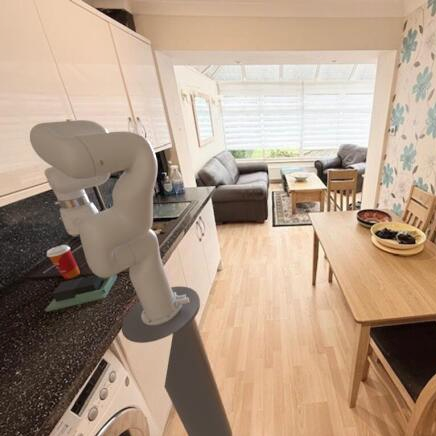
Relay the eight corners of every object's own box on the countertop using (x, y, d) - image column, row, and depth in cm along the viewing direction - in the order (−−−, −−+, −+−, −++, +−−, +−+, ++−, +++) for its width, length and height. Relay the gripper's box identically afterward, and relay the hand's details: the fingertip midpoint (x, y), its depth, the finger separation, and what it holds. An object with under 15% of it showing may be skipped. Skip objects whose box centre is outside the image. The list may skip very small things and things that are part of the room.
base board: (117, 276, 104) (112, 267, 102) (105, 298, 92) (100, 288, 90) (65, 287, 99) (60, 277, 97) (46, 312, 87) (39, 301, 85)
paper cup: (61, 275, 107) (45, 249, 101) (82, 267, 112) (68, 242, 106) (61, 283, 102) (44, 256, 96) (83, 275, 106) (69, 248, 100)
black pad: (103, 282, 99) (99, 274, 98) (97, 292, 94) (93, 284, 92) (85, 286, 98) (81, 278, 96) (78, 297, 92) (73, 289, 90)
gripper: (42, 209, 77) (68, 256, 85) (95, 201, 81) (115, 247, 89) (55, 201, 84) (78, 246, 92) (103, 195, 87) (122, 238, 95)
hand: (96, 246), depth 90 cm, fingers closed
